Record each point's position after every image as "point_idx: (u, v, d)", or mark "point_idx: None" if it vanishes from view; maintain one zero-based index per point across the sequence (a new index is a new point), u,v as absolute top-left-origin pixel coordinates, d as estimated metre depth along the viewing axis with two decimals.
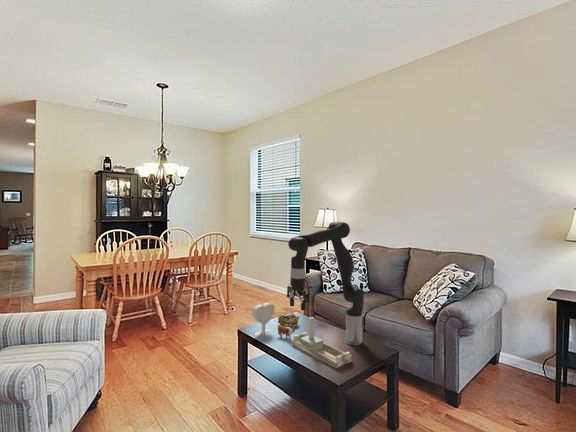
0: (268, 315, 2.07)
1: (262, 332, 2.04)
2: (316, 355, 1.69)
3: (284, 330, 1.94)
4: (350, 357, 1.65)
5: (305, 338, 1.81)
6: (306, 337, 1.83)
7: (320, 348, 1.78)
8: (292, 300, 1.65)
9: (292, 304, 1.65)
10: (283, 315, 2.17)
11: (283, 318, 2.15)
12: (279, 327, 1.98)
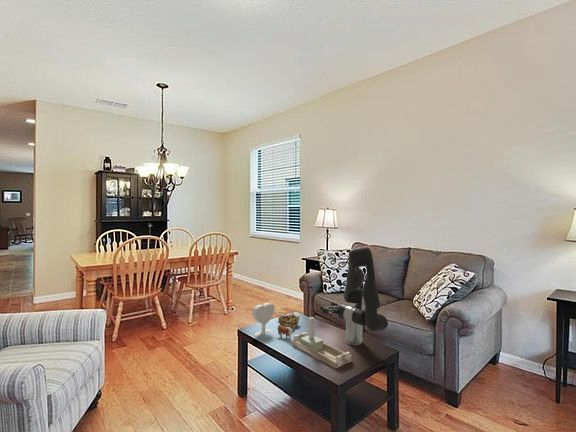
0: (268, 315, 2.07)
1: (262, 332, 2.04)
2: (316, 355, 1.69)
3: (284, 330, 1.94)
4: (350, 357, 1.65)
5: (305, 338, 1.81)
6: (306, 337, 1.83)
7: (320, 348, 1.78)
8: None
9: None
10: (284, 315, 2.16)
11: (283, 318, 2.15)
12: (279, 327, 1.98)
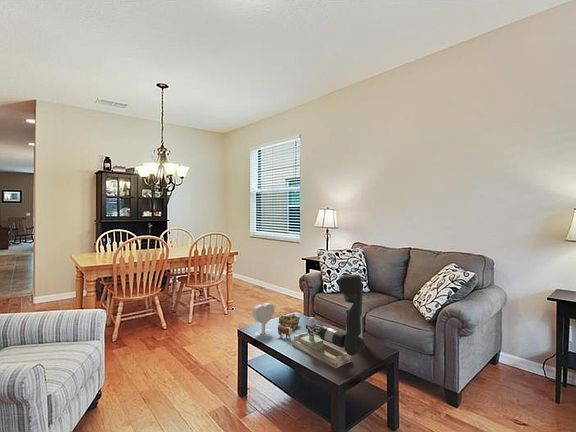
0: (268, 315, 2.07)
1: (262, 332, 2.04)
2: (316, 355, 1.69)
3: (284, 330, 1.94)
4: (350, 357, 1.65)
5: (305, 338, 1.81)
6: (306, 337, 1.83)
7: (320, 348, 1.78)
8: None
9: None
10: (284, 315, 2.16)
11: (284, 318, 2.15)
12: (279, 327, 1.98)
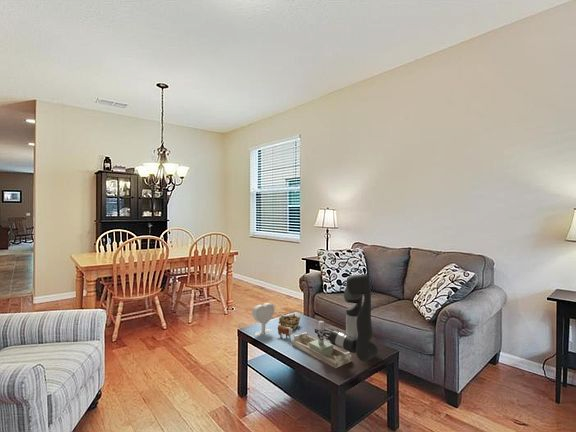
0: (268, 315, 2.07)
1: (262, 332, 2.04)
2: (316, 355, 1.69)
3: (284, 330, 1.94)
4: (350, 357, 1.65)
5: (314, 342, 1.75)
6: (315, 341, 1.77)
7: (330, 353, 1.72)
8: None
9: None
10: (284, 316, 2.15)
11: (284, 319, 2.14)
12: (279, 327, 1.98)
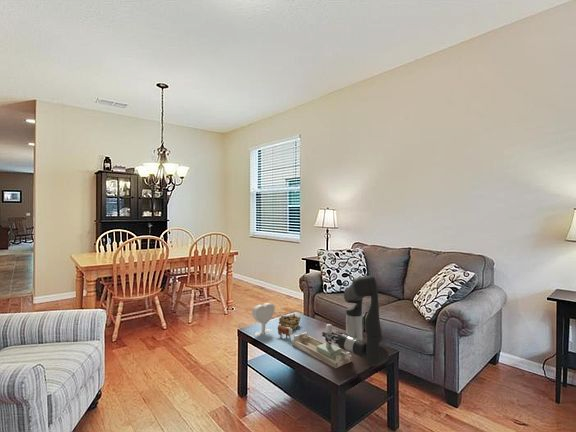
0: (268, 315, 2.07)
1: (262, 332, 2.04)
2: (316, 355, 1.69)
3: (284, 330, 1.94)
4: (350, 357, 1.65)
5: (322, 346, 1.71)
6: (323, 345, 1.73)
7: None
8: None
9: None
10: (284, 316, 2.15)
11: (284, 319, 2.14)
12: (279, 327, 1.98)
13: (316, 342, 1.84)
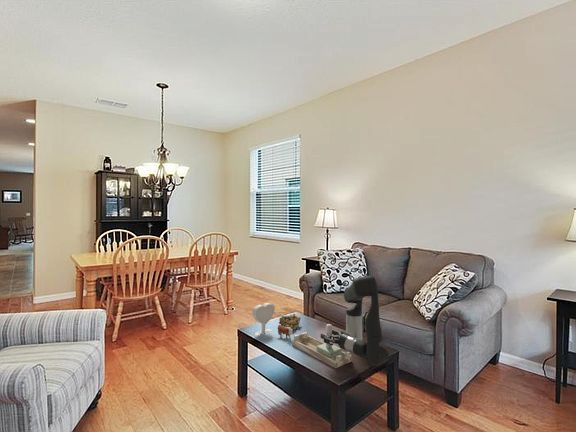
0: (268, 315, 2.07)
1: (262, 332, 2.04)
2: (316, 355, 1.69)
3: (284, 330, 1.94)
4: (350, 357, 1.65)
5: (322, 346, 1.71)
6: (323, 345, 1.73)
7: None
8: None
9: None
10: (284, 316, 2.15)
11: (284, 319, 2.14)
12: (279, 327, 1.98)
13: (316, 342, 1.84)
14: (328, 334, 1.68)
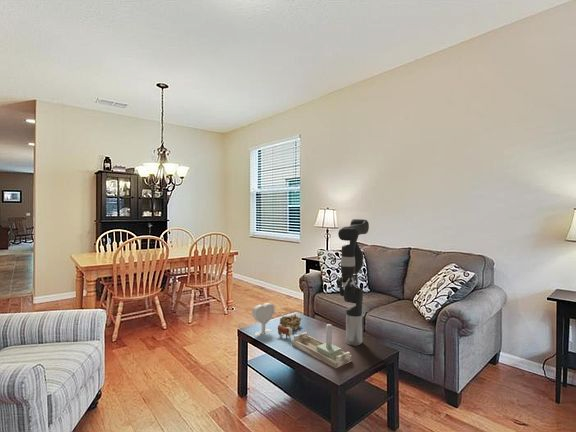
0: (268, 315, 2.07)
1: (262, 332, 2.04)
2: (316, 355, 1.69)
3: (284, 330, 1.94)
4: (350, 357, 1.65)
5: (322, 346, 1.71)
6: (323, 345, 1.73)
7: None
8: None
9: None
10: (285, 316, 2.14)
11: (285, 319, 2.13)
12: (279, 327, 1.98)
13: (316, 342, 1.84)
14: (328, 334, 1.68)
